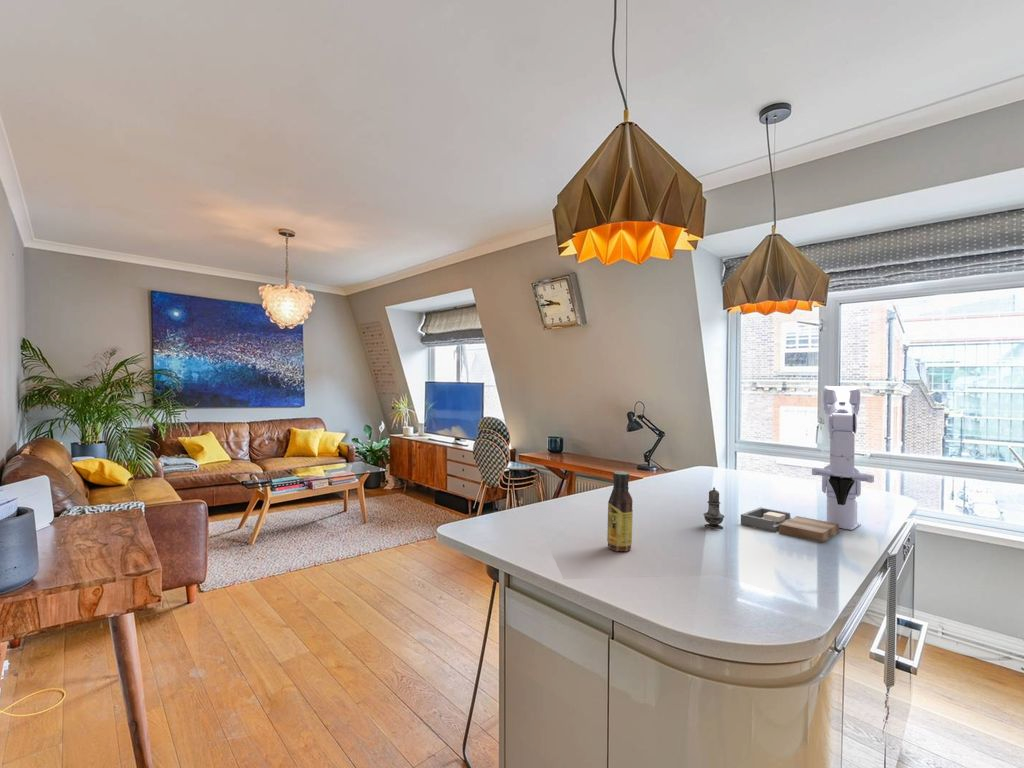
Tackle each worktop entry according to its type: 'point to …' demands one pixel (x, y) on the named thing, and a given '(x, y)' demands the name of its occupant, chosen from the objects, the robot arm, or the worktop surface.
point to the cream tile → (774, 516)
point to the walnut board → (809, 528)
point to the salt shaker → (713, 511)
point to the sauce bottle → (620, 514)
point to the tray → (757, 521)
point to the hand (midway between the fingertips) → (841, 504)
